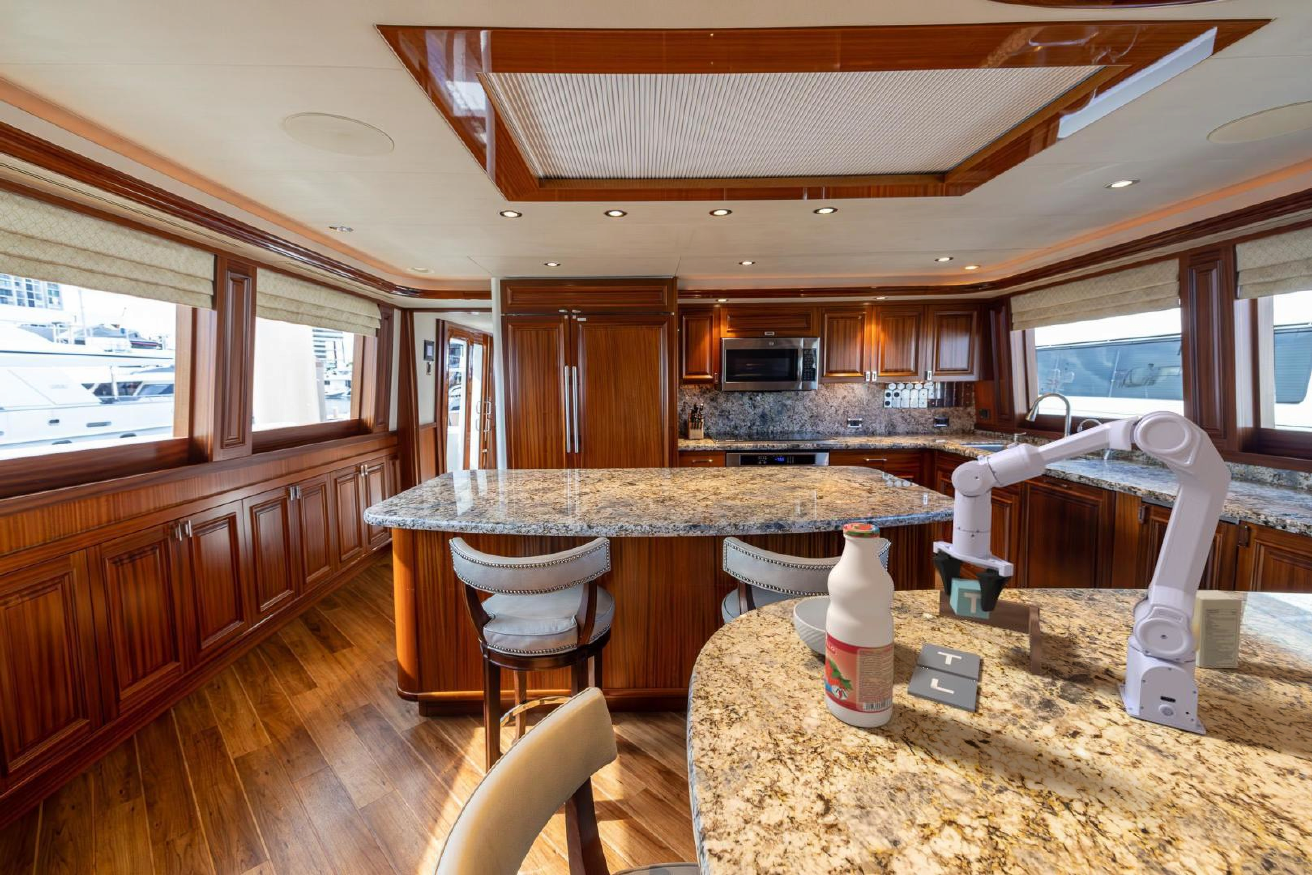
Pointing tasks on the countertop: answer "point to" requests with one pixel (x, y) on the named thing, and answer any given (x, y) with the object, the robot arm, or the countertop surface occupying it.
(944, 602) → the walnut screen
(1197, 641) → the skincare box
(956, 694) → the tile
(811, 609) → the cereal bowl
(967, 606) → the light blue cube
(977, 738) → the countertop surface
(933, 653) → the tile
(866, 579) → the fruit juice
